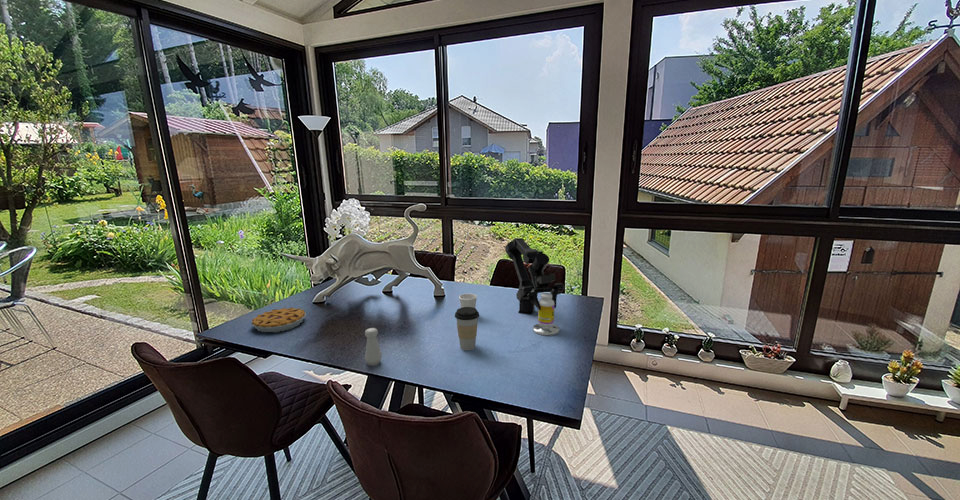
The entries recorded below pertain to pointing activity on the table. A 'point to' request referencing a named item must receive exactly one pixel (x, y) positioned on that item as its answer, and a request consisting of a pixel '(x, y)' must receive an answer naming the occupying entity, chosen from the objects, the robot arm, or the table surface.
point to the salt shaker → (372, 347)
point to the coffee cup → (467, 327)
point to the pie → (278, 320)
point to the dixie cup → (468, 300)
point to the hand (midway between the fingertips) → (547, 308)
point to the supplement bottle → (546, 310)
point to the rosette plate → (546, 330)
